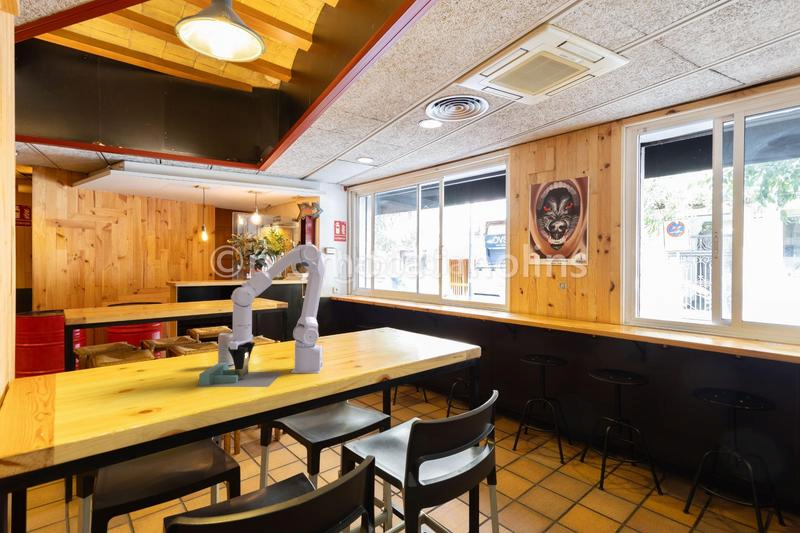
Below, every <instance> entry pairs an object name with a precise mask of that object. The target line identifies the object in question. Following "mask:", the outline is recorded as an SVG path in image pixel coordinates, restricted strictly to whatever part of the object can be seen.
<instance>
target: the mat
mask: <svg viewBox="0 0 800 533" xmlns="http://www.w3.org/2000/svg"><path fill="white" fill-rule="evenodd" d="M282 374H283V371H281V372H280V371H276V372H275V371H270V372H269V371H248V375H246V376H238V382H237V383H212V384H211V385H209V386H199V383H198V384H196V385H194V388H201V387H202V388H203V387H204V388H208V387H209V388H211V387H212V388H217V387H218V388H219V387H220V388H221V387H222V388H224V387H225V388H231V387H232V388H246V387H247V388H248V387H249V388H269V387H270V386H271V385H273V383H274V382H275V381H276V380H277V379H278V378H279V377H280V375H282Z"/></svg>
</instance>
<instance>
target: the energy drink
mask: <svg viewBox="0 0 800 533" xmlns="http://www.w3.org/2000/svg"><path fill="white" fill-rule="evenodd" d="M230 338H233V332H221V333H219V334H218V338H217V339H218V340H217V344H218V345H217V364H218V363H219V362H228V369H233V368H235V366H234V362H233V358H232V356H231V354H230V352H229V351H228V348H229V347H230V343H231V341H229V339H230Z"/></svg>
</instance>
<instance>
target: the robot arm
mask: <svg viewBox="0 0 800 533" xmlns="http://www.w3.org/2000/svg"><path fill="white" fill-rule="evenodd" d="M295 264H300V265H302V266H303V267H304V268H305V270H307V272H308V276H307V282H306V288H305V293H304V298H303V303H302V309H301V315H300V317H299V319H298V320H297V323H296V326H295V327H294V328H293V332H292V337H293V339H294V340H295V342H294V368H293V369H292V370H291V374H320V372H321V371H322V369H323V367H324V366H323V364H324V363H323V358H324V357H323V356H324V352H323V346H322V345H321V344H317V342H318V341H319V338H320V337H319V336H320V334H319V324H318V320H317V315H318V311H319V305H320V304H319V303H320V300H321V299H320V298H321V293H322V288H323V282H324V277H325V272H326V271H325V270H326V268H325V266H324V262H323V259H322V252H321V250H320V249H319V248H318V247H317V246H316V245H315V244H312V243H307V244H299V245H297V246H296V247H294V248H293V249H291V250H289V251H287V253H286V254H283V256H282V257H280V258H279V259H278V260H277V261H276V262H275V263H274V264H272V266H270V267H269V268H268V269H267V270H266V271H265V270H264V271H263V270H259V271H258V272H253V273H252V277H251V278H250V279H248V280H247V281H245V282H242V283H241V284H240V285H241V287H236V288H235V289H234V290H233V291H232V294H231V295H230V299H231V301H232V303H233V304H232V306H233V307H232V308H233V310H232V333H233V338H230V339H229V341H231V343H230V347H229V348H228V351H229V352H230V354H231V356H232V358H233V362H234V369H243V366H244V359H245V355H246V352H247V351H248V352H249V360H250V358H251V354H252V351H253V349H254V347H255V345H256V342H253V340H254V334H252V333H253V332H252V331H253V310H252V306H253V305H252V304H253V303H254V301H255V298H256V297H258V296H259V295H261V294H262V293H263V292H264V291H266V289H268V288H269V287H270V286H272V284H273V279H274V278H275V277H277V276H278V275H279V274H281V273H283V271H285V270H286V269H287V268H289V267H290V266H291V265H295Z"/></svg>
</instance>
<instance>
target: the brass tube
mask: <svg viewBox="0 0 800 533" xmlns="http://www.w3.org/2000/svg"><path fill="white" fill-rule="evenodd" d="M249 362H250V359H249V352H248V351H247V352H246V355H245V359H244V366H243V369H235V368H234V369H235V375H238V376H244V375H248V372H249V364H250V363H249Z"/></svg>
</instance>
